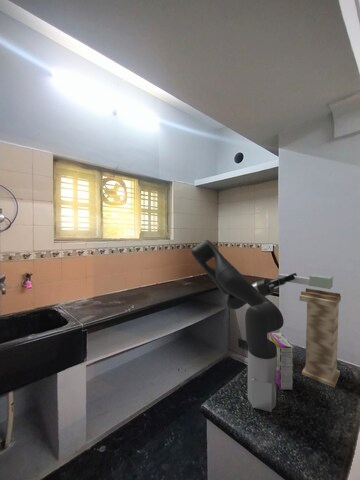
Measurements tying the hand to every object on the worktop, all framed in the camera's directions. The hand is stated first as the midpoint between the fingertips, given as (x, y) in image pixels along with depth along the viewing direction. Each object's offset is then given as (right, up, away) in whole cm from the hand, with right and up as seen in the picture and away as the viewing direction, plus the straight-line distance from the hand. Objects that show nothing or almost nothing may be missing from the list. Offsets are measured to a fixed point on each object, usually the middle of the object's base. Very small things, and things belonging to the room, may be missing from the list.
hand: (295, 275), depth 95 cm
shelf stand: (+8, -39, -5) cm, 40 cm away
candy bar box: (-10, -39, -8) cm, 42 cm away
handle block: (+2, -3, -2) cm, 4 cm away
